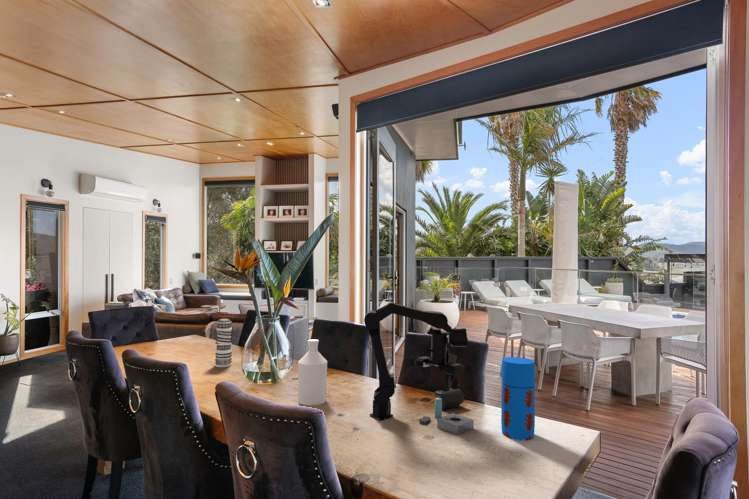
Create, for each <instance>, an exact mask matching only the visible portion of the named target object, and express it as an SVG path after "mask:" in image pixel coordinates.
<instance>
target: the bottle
mask: <svg viewBox="0 0 749 499" xmlns="http://www.w3.org/2000/svg"><path fill="white" fill-rule="evenodd" d="M319 341H320V340H319V339H316V338H315V339H314V338H312V339H308V340H307V344H308V345H307V346H308V347H307V348H308V349H307V350H308V351H307V352H306V353H305V354H304V355H303V356H302V357H301V358H300V359H299V360H298V364H297V365H298V366H297V370H298V372H297V374H298V375H297V381H298V382H297V388H298V392H297V394H298V395H297V396H298V398H297V399H298V404H301V405H304V406H318V405H323V404H325V403H326V402H327V381H328V380H327V379H328V378H327V376H328V375H327V374H328V360H327V359H326V358H325V357H324V356H323V355H322V354H321V353H320V352H319V350H318V348H319V343H320V342H319Z"/></svg>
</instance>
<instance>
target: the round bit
mask: <svg viewBox="0 0 749 499" xmlns="http://www.w3.org/2000/svg"><path fill="white" fill-rule="evenodd" d="M442 415H443V410H442V399H441V398H439V397H435V398H434V418H435V419H436V420H437V419H438V418H441V417H443V416H442Z"/></svg>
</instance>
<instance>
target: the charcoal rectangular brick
mask: <svg viewBox="0 0 749 499" xmlns="http://www.w3.org/2000/svg"><path fill="white" fill-rule="evenodd" d="M430 421H431V417H430V416H427V415H425V416H422V418H420V419H419V424H420V425H425V426H426V425H428V423H429V422H430Z"/></svg>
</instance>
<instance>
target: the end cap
mask: <svg viewBox="0 0 749 499" xmlns="http://www.w3.org/2000/svg"><path fill="white" fill-rule="evenodd" d="M434 397H435V398H441V399H442V411H443V410H447V409H451V408H455V407H459V406H460V405H462V404H463V403H464V401H465V395H464V393H463V391H462V389H460V388H456V389H453V388H452V387H451V388H450V390H449V391H447V389H446V388H445V391H443V390H436V391H434Z"/></svg>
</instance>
